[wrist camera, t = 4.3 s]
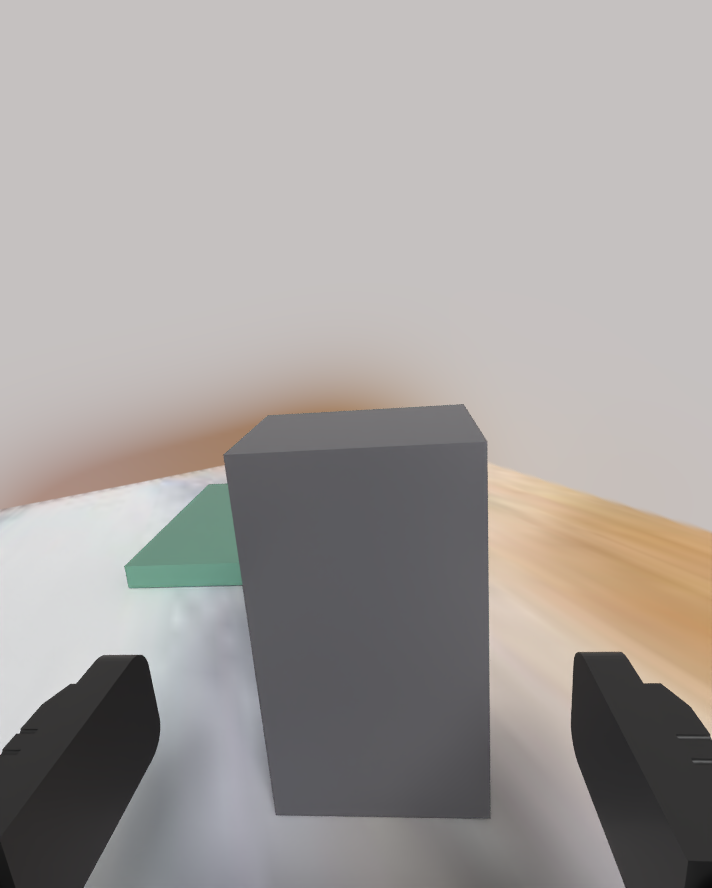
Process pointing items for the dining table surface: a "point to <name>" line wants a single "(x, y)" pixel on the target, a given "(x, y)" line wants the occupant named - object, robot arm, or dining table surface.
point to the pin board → (191, 547)
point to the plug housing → (368, 608)
